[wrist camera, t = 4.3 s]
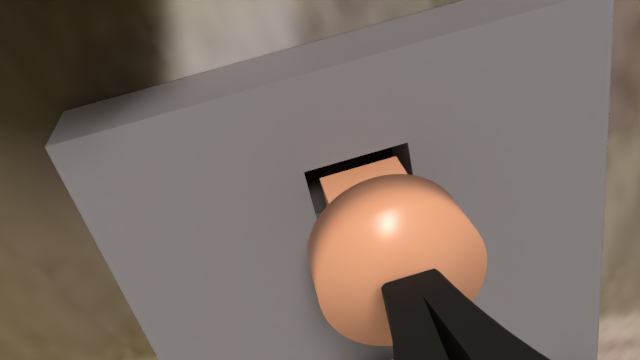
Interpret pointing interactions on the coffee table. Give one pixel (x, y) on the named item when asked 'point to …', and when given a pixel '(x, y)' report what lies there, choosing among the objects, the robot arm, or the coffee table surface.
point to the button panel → (346, 143)
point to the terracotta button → (386, 244)
